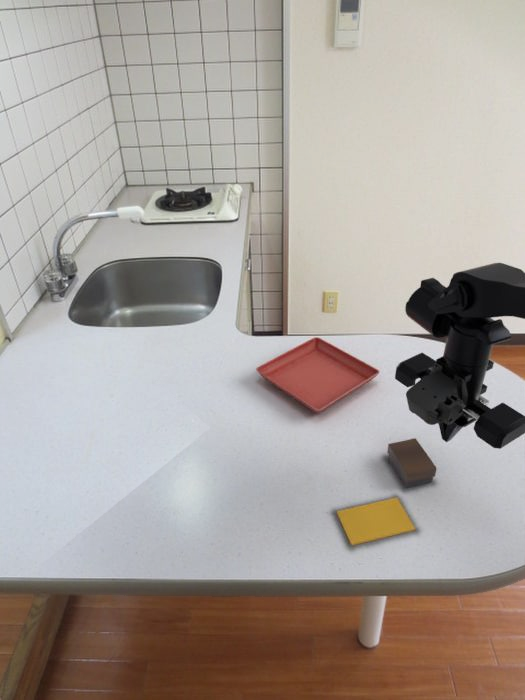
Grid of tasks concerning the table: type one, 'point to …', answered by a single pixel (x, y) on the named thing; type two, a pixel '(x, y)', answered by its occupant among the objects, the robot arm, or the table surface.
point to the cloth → (375, 521)
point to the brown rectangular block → (411, 463)
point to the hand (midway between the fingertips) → (446, 439)
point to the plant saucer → (317, 374)
